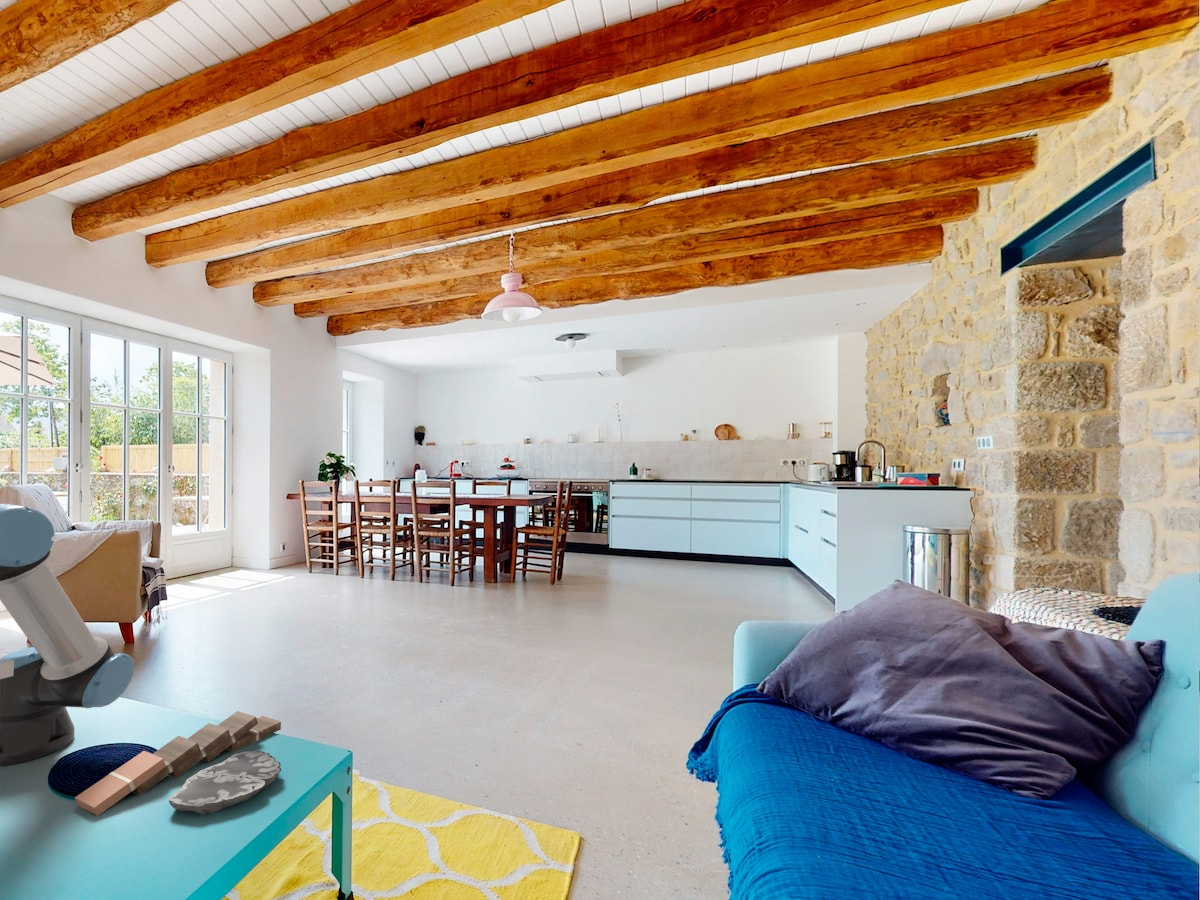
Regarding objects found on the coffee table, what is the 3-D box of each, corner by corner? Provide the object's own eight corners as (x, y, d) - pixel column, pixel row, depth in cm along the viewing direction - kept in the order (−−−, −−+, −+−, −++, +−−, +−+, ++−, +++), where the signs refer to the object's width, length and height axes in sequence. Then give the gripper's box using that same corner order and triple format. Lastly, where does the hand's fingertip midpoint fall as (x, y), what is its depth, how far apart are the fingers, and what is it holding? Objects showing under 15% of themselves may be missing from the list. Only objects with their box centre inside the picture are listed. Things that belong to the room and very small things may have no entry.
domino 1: (94, 807, 103) (163, 758, 113) (74, 797, 106) (143, 750, 116) (97, 816, 103) (166, 766, 114) (78, 805, 106) (146, 758, 117)
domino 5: (232, 743, 126) (281, 721, 137) (213, 736, 129) (262, 715, 140) (232, 752, 126) (280, 729, 137) (213, 745, 129) (262, 723, 140)
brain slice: (234, 826, 102) (234, 810, 102) (152, 818, 103) (152, 802, 104) (301, 767, 121) (302, 754, 121) (231, 761, 123) (232, 748, 123)
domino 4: (205, 755, 121) (256, 716, 132) (186, 748, 124) (237, 710, 134) (208, 762, 122) (258, 723, 132) (189, 755, 124) (239, 717, 135)
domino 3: (173, 771, 115) (228, 729, 126) (153, 763, 118) (208, 722, 128) (176, 778, 116) (230, 736, 126) (156, 770, 118) (211, 730, 129)
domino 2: (136, 787, 109) (197, 742, 120) (116, 779, 112) (178, 735, 122) (140, 796, 110) (200, 750, 120) (119, 787, 112) (181, 742, 123)
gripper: (-236, 740, 79) (-7, 681, 101) (-207, 762, 74) (28, 695, 96) (-233, 689, 79) (-5, 641, 101) (-204, 707, 74) (30, 652, 96)
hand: (11, 667), depth 98 cm, fingers closed
